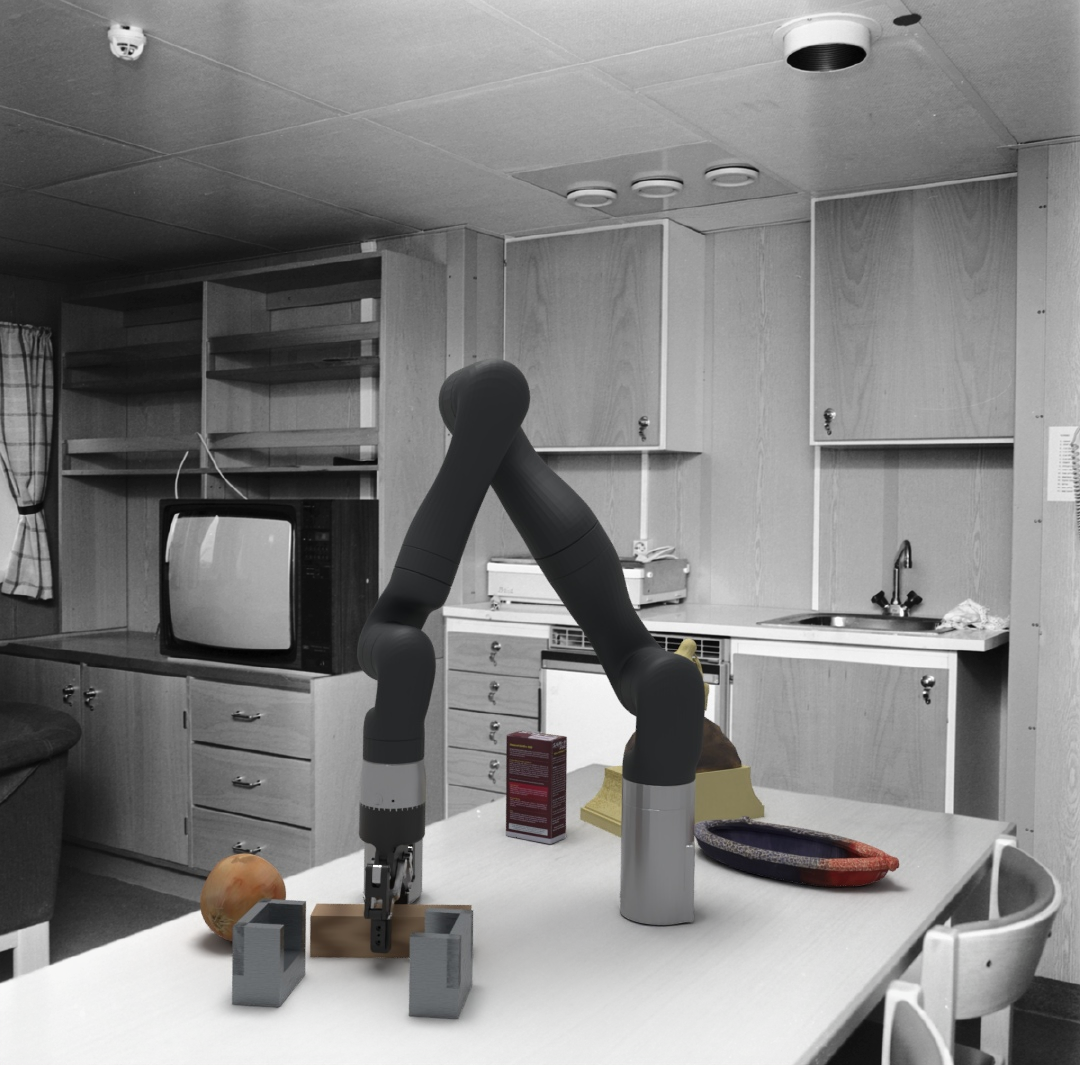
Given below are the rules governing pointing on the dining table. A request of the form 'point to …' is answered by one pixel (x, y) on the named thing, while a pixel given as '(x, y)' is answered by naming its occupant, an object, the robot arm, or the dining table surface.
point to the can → (417, 884)
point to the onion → (238, 891)
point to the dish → (792, 853)
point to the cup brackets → (280, 952)
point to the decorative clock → (716, 783)
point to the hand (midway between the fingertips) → (390, 938)
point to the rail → (364, 930)
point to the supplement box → (536, 786)
